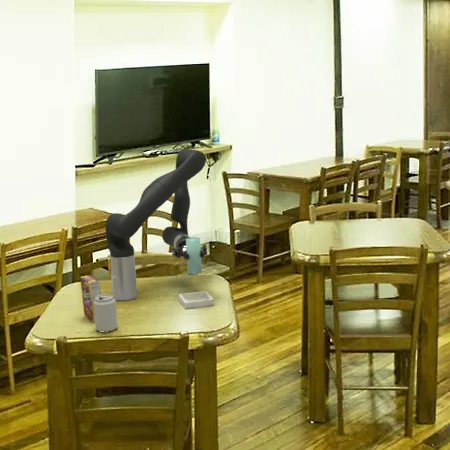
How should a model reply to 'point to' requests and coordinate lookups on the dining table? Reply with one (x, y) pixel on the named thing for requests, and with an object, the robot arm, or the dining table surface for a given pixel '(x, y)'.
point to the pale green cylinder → (193, 255)
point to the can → (105, 313)
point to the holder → (196, 300)
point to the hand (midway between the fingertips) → (195, 256)
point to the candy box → (89, 295)
